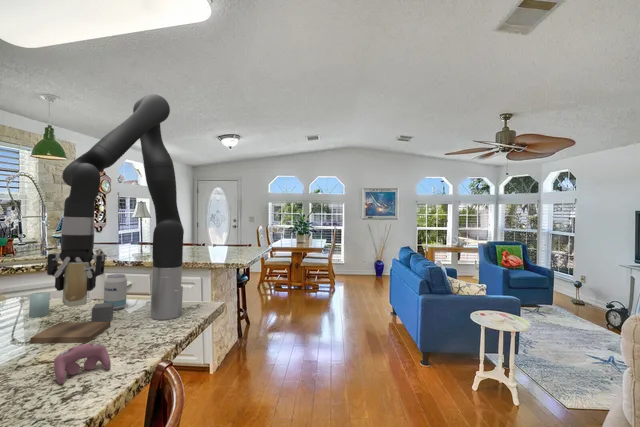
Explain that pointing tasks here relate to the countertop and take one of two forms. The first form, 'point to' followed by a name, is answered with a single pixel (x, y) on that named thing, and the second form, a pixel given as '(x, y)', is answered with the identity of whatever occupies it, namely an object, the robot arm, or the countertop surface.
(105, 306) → the rubber block
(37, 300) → the grey-green rounded block
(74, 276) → the skincare box
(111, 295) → the beverage can
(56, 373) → the video game controller
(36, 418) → the countertop surface
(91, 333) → the wooden board
